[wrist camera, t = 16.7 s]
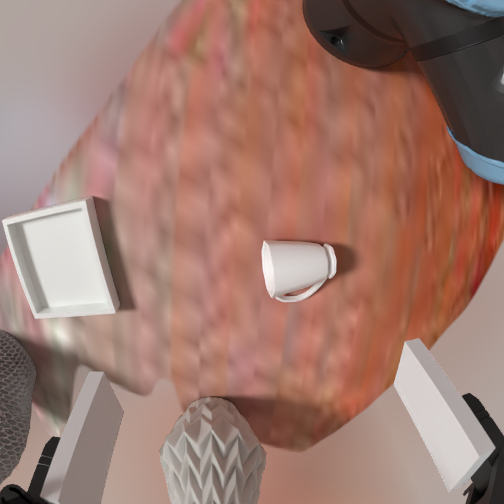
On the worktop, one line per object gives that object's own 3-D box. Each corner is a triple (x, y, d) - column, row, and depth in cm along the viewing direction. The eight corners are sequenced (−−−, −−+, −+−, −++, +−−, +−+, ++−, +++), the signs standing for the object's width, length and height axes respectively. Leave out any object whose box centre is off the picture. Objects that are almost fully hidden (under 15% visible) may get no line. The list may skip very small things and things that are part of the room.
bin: (11, 215, 36) (2, 220, 33) (92, 196, 36) (85, 200, 34) (41, 310, 42) (35, 318, 39) (120, 304, 42) (115, 313, 40)
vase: (160, 429, 53) (146, 583, 22) (173, 372, 47) (152, 571, 17) (243, 442, 56) (260, 589, 25) (272, 390, 50) (309, 572, 20)
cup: (345, 258, 35) (275, 268, 34) (330, 314, 41) (271, 324, 40) (324, 221, 40) (261, 228, 39) (314, 277, 46) (260, 285, 45)
